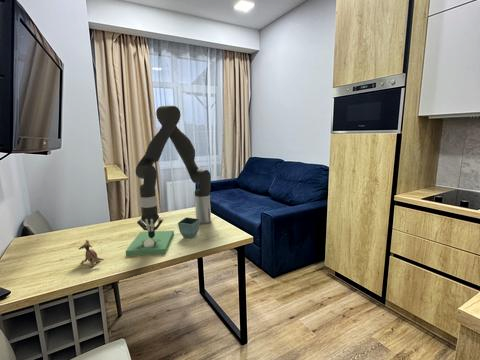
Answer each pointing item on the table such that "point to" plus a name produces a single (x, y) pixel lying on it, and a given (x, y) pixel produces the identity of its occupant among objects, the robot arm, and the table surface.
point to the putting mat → (160, 246)
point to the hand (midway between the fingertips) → (151, 237)
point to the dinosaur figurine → (90, 254)
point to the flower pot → (189, 227)
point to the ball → (148, 243)
